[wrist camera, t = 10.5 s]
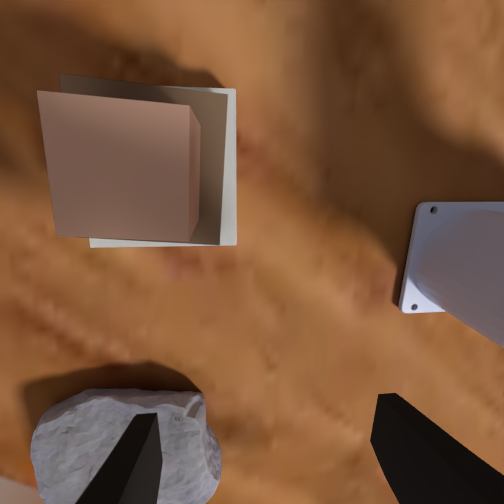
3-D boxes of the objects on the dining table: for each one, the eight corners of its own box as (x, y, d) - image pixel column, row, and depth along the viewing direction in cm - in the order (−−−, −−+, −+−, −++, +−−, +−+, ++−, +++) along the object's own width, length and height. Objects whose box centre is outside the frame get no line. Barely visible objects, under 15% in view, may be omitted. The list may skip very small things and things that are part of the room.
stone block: (53, 380, 22) (81, 493, 23) (5, 424, 17) (44, 564, 18) (204, 349, 23) (224, 459, 24) (199, 382, 18) (225, 517, 19)
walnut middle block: (226, 106, 14) (228, 94, 11) (220, 233, 16) (219, 245, 13) (89, 90, 13) (58, 73, 11) (98, 226, 15) (75, 237, 12)
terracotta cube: (200, 125, 12) (189, 105, 8) (198, 219, 13) (188, 241, 9) (100, 116, 11) (36, 90, 7) (108, 214, 12) (56, 236, 8)
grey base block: (233, 100, 16) (235, 88, 14) (234, 234, 18) (236, 245, 16) (88, 95, 15) (63, 81, 13) (108, 236, 17) (90, 247, 15)
